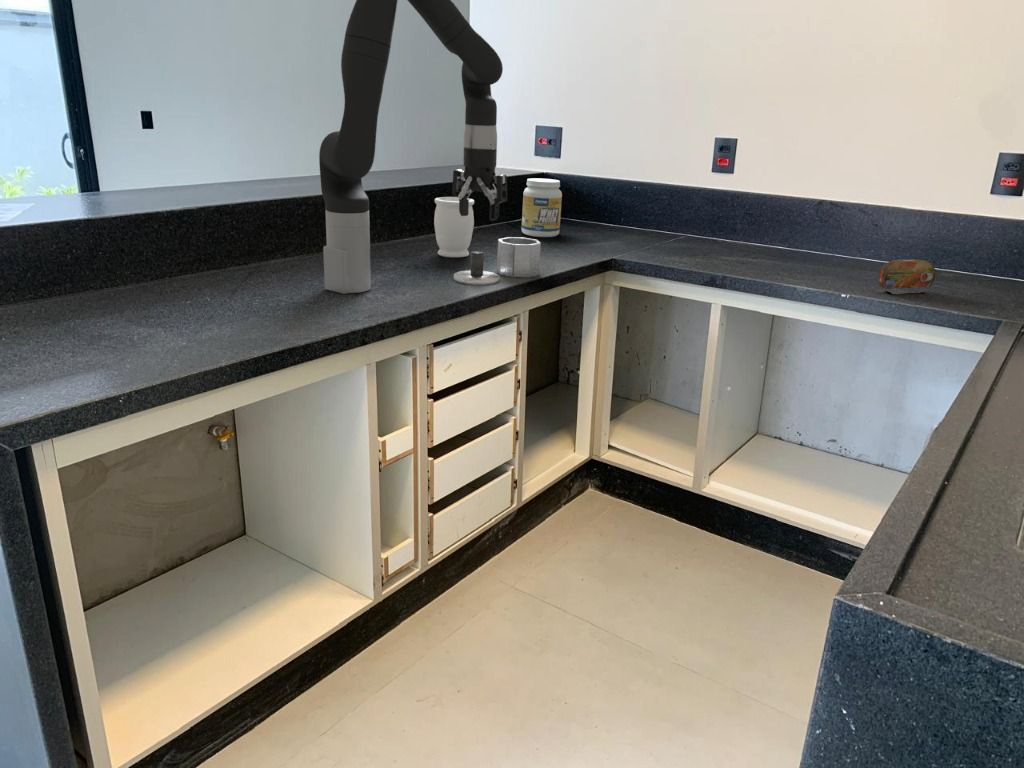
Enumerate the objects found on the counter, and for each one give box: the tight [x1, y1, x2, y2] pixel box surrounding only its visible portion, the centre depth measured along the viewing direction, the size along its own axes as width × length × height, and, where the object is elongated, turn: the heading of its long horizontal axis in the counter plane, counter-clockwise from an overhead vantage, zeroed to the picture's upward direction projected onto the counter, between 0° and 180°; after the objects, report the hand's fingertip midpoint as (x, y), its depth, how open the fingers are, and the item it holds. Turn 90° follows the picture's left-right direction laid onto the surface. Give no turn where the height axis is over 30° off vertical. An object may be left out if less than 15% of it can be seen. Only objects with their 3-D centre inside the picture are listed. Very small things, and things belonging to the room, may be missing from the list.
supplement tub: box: [521, 177, 563, 238], centre depth 249 cm, size 12×12×17 cm
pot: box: [496, 236, 542, 279], centre depth 197 cm, size 10×10×8 cm
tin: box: [878, 259, 936, 289], centre depth 196 cm, size 15×3×8 cm, turn 105°
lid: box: [453, 251, 501, 286], centre depth 189 cm, size 11×11×7 cm
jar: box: [433, 196, 475, 259], centre depth 213 cm, size 11×10×15 cm
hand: (478, 217), depth 185 cm, fingers open, 8 cm apart
